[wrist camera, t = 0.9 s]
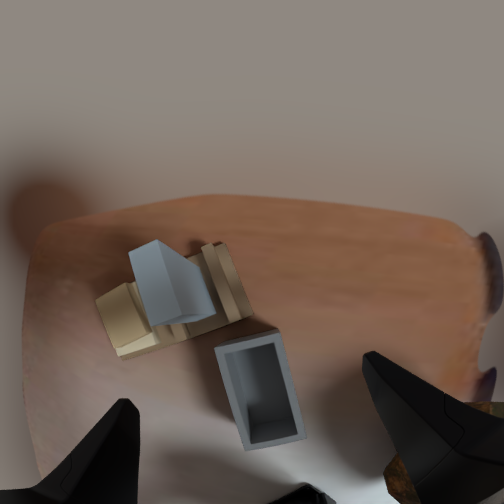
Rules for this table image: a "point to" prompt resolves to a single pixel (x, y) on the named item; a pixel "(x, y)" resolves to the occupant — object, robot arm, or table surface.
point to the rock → (398, 476)
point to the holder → (260, 390)
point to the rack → (156, 337)
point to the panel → (170, 285)
